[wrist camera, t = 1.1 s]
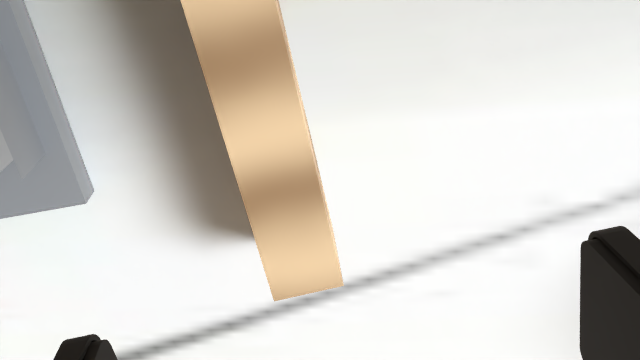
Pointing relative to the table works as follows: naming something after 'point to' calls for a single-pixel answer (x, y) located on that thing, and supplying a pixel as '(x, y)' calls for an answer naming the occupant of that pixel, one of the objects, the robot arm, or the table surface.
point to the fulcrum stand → (33, 126)
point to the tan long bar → (267, 140)
